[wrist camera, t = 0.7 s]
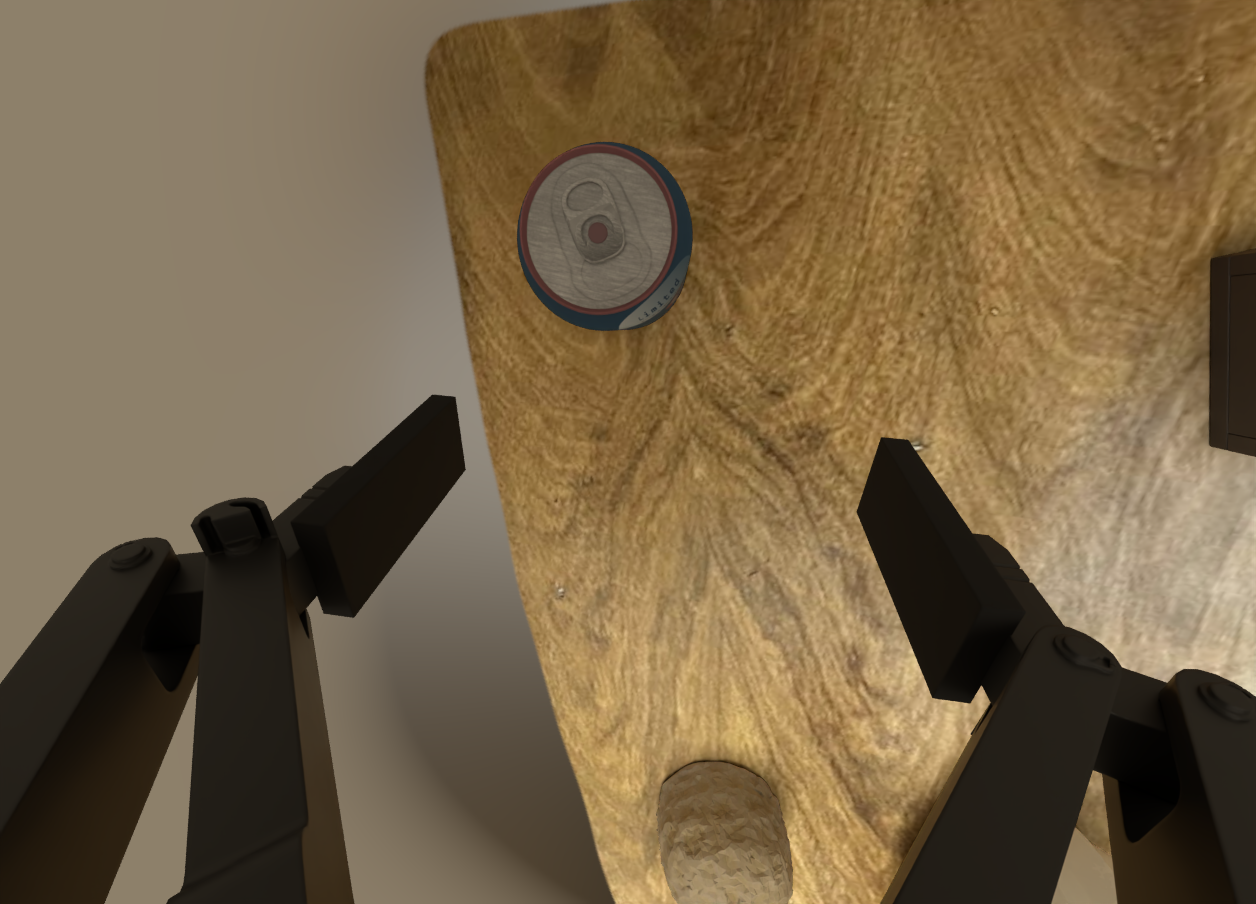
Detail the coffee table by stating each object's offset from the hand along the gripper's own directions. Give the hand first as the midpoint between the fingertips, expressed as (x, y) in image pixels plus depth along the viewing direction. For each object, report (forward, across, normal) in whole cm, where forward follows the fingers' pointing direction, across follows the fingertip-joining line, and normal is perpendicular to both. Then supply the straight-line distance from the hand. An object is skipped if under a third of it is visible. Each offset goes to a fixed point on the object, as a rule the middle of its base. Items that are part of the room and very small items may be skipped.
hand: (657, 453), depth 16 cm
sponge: (+7, +6, -34) cm, 35 cm away
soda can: (+17, -3, +2) cm, 18 cm away
